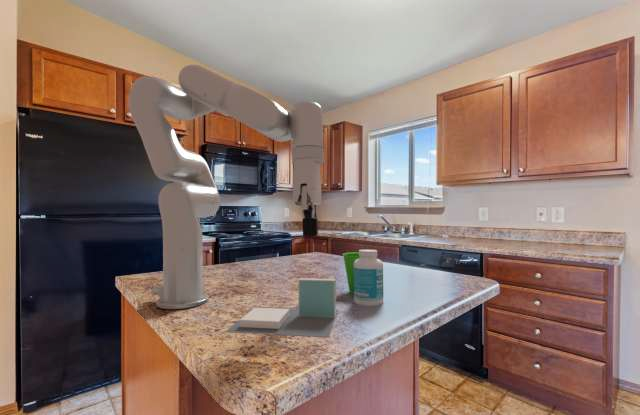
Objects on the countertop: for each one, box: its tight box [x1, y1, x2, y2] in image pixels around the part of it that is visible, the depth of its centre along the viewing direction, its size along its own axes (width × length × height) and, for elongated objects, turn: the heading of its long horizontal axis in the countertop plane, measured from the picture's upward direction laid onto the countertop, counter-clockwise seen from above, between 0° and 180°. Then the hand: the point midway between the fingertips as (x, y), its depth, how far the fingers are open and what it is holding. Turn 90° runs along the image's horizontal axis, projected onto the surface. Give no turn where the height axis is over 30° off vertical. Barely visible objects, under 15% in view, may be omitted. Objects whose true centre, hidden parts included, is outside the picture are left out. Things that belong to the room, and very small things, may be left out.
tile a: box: [239, 307, 290, 329], centre depth 65 cm, size 8×2×8 cm
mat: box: [225, 306, 339, 338], centre depth 66 cm, size 20×16×1 cm
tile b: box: [297, 277, 337, 319], centre depth 68 cm, size 8×2×8 cm, turn 81°
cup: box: [342, 251, 360, 295], centre depth 90 cm, size 9×9×11 cm
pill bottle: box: [353, 249, 384, 307], centre depth 79 cm, size 8×7×14 cm
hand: (310, 235), depth 72 cm, fingers closed
